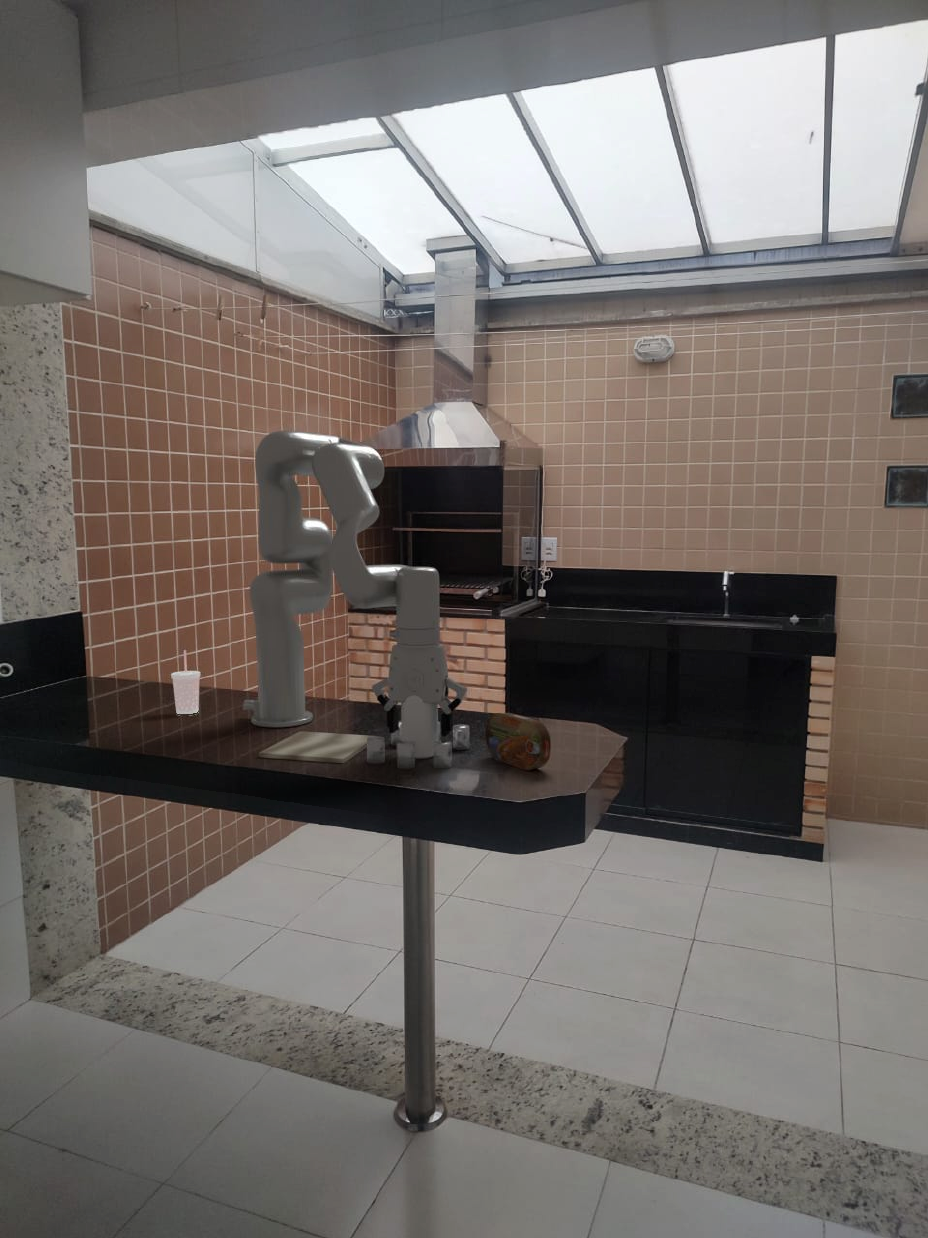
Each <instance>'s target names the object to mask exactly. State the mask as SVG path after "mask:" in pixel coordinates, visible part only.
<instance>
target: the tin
mask: <svg viewBox="0 0 928 1238" xmlns="http://www.w3.org/2000/svg"><path fill="white" fill-rule="evenodd" d="M485 726H486V727H485V742H486V746H487V749H488V752H489V754H490V755H491V756H492V757H493V758H494V760H496V761H498V762H501V763H504V764H507V765H510V766H512V767H516V768H518V769H521V770H523V771H532V770H534V769H535V770H537V769H540V768H542V767H544V766H545V765H546V764H547V763H548V761H549V759H550V756H551V748H552V742H551V735H550V732H549V730H548V728H547V727H546V726H545V724H544V723H543V722H541V721H539V720H537V719H535V718H530V717H527V716H522V715H519V714H516V713H515V714H514V713H511V712H496V713H494V714H492V715H491V716H490V717H489V718H488V720H487V723H486V725H485Z"/></svg>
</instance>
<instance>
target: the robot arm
mask: <svg viewBox="0 0 928 1238" xmlns="http://www.w3.org/2000/svg"><path fill="white" fill-rule="evenodd" d="M254 459H255V460H254V461H255V462H254V466H255V468H254V469H255V475H256V480H257V486H258V492H259V493H258V495H259V501H258V552H259V554H260V556H261V558H262V559H263V560H264V561H265V562H267V563H269V564H283V565H284V564H287V565H289V564H299V569H278V570H277V569H275V570H274V569H272V570H268V571H264V572H262V573H259V574H258V575H256V577H254V578H253V580H252V581H251V583H250V586H249V600H250V605H251V609H252V613H253V618H254V628H255V639H256V640H255V642H256V662H257V663H256V667H257V668H256V669H257V670H256V671H257V672H256V673H257V692H258V694H257V695H258V698H257V699H255V700H254V699H245V700H244V701H243V703H242V709H243V711H249V712H250V711H252V712H253V715H252V716H251V718H250V719H251V721H250V723H252V724H253V725H254V726H258V727H263V728H288V727H296V726H301V725H304V724H309V723H310V722H312V721H313V719H314V715H313V713H312V712H311V711H310V710H309V711H308V710H306V691H305V690H306V686H305V685H306V684H305V657H304V655H305V652H304V636H303V631H302V630H301V628H300V626H299V625H298V623H297V621H296V620H295V617H294V616H297V615H298V616H299V615H308V614H316V613H320V612H323V610H325V609H326V608H327V607H328V605H329V604H330V602H331V597H332V592H333V575H334V576H335V579H336V581H337V583H338V586H339V587H340V589H341V592H342V593H343V596H344V598H345V599H346V600H347V601H348V602H349V604H351V605H352V606H354V607H356V608H358V609H373V608H374V609H375V608H383V607H384V608H385V607H387V608H388V607H395V606H396V627H395V629H394V630H392V629H390V630H389V633H388V634H389V638H391V639H392V638H394V639H395V642H396V644H394V645H393V644H392V645H391V646H392V647H391V651H390V657H389V666H388V677H386V678H384V679H382V680H381V681H378V682H376V683H374V684H373V685H372V686H371V688H372V690H373V693H374V695H375V696H376V699H377V701H378V702H379V703H380V705H381V706H382V707H383V709H384V711H385V712H386V727H387V728H388V732H389V734H391V733H394V732H396V731H397V730H398V729H399V721H400V720H399V717H400V716H399V708H398V707H397V705H398V704H399V703H400V704H401V703H404V702H405V701H406V699H407V698H408V697H409V696H412V695H415V696H418V697H420V698H421V699H422V701H423V703H426V704H438V707H439V708H440V709H441V710H442V712H443V713H442V714H441V715H440V720H441V721H440V736H441V737H445V738H446V737H447V736H448V735H449V734H450V733H451V731H452V732H453V726H454V724H453V719H454V718H453V714H454V713H453V712H454V711H455V709H457V708H458V707H459V706H460V705H461V704H462V703H463V700H464V699H465V696H466V694H467V693H468V688H467V687H465V686H464V685H462V684H461V683H458V682H457V681H455V680H453V679H452V678H450V677H449V670H448V663H447V656H446V652H445V651H446V650H445V647H444V644H442V643H441V623H440V612H441V611H440V610H441V609H440V608H441V606H440V574H439V571H438V570H437V569H436V568H435V567H431V566H409V565H405V564H371V565H370V564H369V565H367V564H366V562H365V561H364V559H363V557H362V555H361V553H360V552H361V551H360V549H359V547H358V534H359V533H362V532H363V531H365V530H366V529H368V528H370V527H371V526H373V524H374V523H375V522H376V521H377V520H378V518H379V516H380V507H379V505H378V503H377V501H376V499H375V497H374V494H373V492H372V490H373V489H376V488H378V486H380V485H381V483H382V482H383V479H384V477H385V465H384V462H383V459H382V456H381V455H380V454H379V452H378V451H377V450H376V449H374V448H373V447H371V446H370V445H365V444H362V443H358V442H355V441H353V440H351V439H350V440H349V439H346V438H343V437H340V436H336V435H333V434H332V435H331V434H330V435H329V434H322V433H315V432H314V433H313V432H308V431H307V432H306V431H299V430H277V431H273V432H269V433H268V434H267V435H265V436H264V437H263V438H262V439H260V442H259V444H258V446H257V449H256V452H255V457H254ZM293 476H304V477H305V476H306V477H315V479H316V481H317V483H318V486H319V487H320V490H321V493H322V495H323V498H324V499H325V503H326V504H327V508H329V511H330V514H331V516H332V518H333V520H334V524H335V526H336V527H335V528H336V529H335V530H334V534H333V535H332V531H331V530H330V527H329V526H328V525H327V524H326V523H325V521H323V520H321V519H320V518H317V517H303V496H302V492H301V490H300V488H299V487H300V486H299V485H298V484H297V482H296V480H295V478H294V477H293ZM385 687H387V694H385V692H384V688H385ZM450 690H451V691H454V692H455V693H456V694H455V695H456V696H455V698H454V699H453V700H450V698H449V697H448V696H449V693H450V692H449V691H450ZM413 691H415V692H413Z"/></svg>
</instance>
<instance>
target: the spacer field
mask: <svg viewBox="0 0 928 1238" xmlns="http://www.w3.org/2000/svg"><path fill="white" fill-rule="evenodd" d="M374 736H375V737H369V738H367V747H366V754H367V755H366V759H367V760H366V761H367V763H368V764H373V765H379V764H382V763H385V760H386V756H385V754H386V753H385V751H386V749H385V747H386V745H385V737H384V736H378V735H374ZM390 740H391V741H390V744H391V746H396V759H397V760H396V761H397V763H396V766H397V768H398V769H403V770H406V769H413V768H415V767H416V759H415V742H413V741H402V737H401V720H399V729H398V730H397V731H396V732H394V733H390ZM452 749H454V750H458V751H464V750H470V725H468V724H463V723H462V724H460V723H459V724H453V728H452V741H450V740H441V721H438V741H436V742H434V757H433V767H434V768H435V769H441V770H443V769H450V768H452V765H453V764H452Z"/></svg>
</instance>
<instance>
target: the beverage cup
mask: <svg viewBox="0 0 928 1238" xmlns="http://www.w3.org/2000/svg"><path fill="white" fill-rule="evenodd" d="M183 664H184V670H183V671H174V672H171V673H170V675H171V679H172V685H173V695H174V703H175V704H174V705H175V711H176V713H177V714H193V713H197V712H198V711H199V709H200V708H199V707H200V677H201V671H198V670H188V665H187V650H186V649H184V650H183ZM199 712H200V711H199ZM199 712H198V713H199ZM177 714H176V715H177Z"/></svg>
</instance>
